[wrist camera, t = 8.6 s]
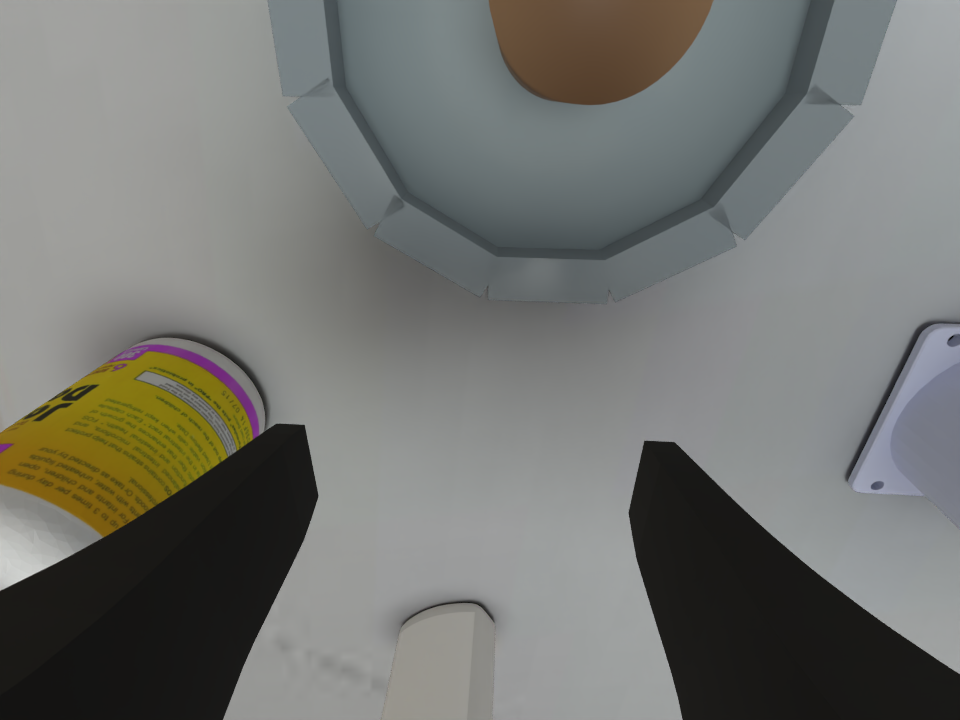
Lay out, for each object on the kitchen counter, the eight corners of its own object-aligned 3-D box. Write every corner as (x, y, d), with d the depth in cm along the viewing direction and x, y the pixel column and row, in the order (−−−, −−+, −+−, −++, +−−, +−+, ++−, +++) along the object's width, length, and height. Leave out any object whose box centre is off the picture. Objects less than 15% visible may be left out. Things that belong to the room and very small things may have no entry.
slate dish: (987, -438, 10) (1086, -549, 8) (762, 289, 18) (790, 310, 16) (238, -413, 11) (186, -511, 9) (332, 275, 18) (314, 293, 17)
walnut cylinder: (652, -72, 13) (754, -192, 7) (628, 102, 14) (694, 106, 9) (498, -72, 13) (489, -189, 8) (494, 101, 15) (484, 104, 9)
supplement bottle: (168, 300, 19) (-306, 580, 8) (300, 404, 22) (67, 743, 10) (95, 393, 22) (-347, 708, 11) (220, 478, 24) (-40, 818, 13)
